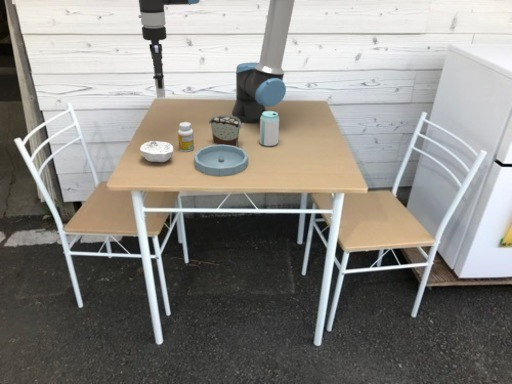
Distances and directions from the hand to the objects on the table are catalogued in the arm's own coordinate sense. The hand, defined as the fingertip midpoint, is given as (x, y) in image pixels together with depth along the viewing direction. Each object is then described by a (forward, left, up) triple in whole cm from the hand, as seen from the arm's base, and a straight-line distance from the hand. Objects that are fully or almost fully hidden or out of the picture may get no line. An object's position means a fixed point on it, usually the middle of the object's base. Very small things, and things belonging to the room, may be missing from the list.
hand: (160, 91), depth 142 cm
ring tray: (-17, +19, -20) cm, 33 cm away
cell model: (+3, +12, -21) cm, 24 cm away
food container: (-23, +3, -21) cm, 31 cm away
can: (-38, +7, -21) cm, 44 cm away
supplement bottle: (-7, +5, -21) cm, 23 cm away
